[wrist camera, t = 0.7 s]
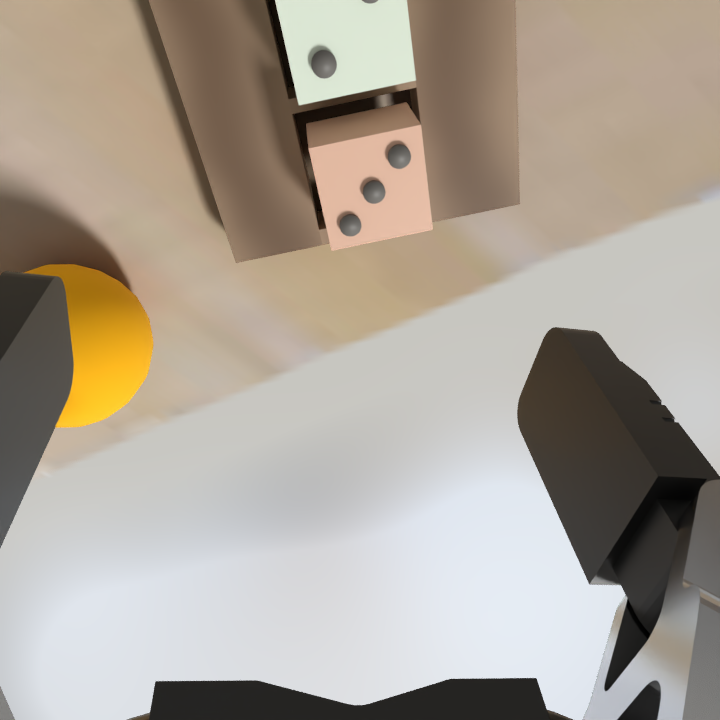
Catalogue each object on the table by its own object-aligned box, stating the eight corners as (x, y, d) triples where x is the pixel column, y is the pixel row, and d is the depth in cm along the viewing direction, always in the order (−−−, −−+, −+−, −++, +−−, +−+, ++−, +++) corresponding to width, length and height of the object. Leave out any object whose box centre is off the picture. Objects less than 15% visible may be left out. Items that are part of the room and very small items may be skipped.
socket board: (487, -366, 20) (506, -393, 18) (506, 187, 31) (519, 204, 30) (73, -271, 20) (52, -288, 19) (238, 243, 32) (236, 262, 30)
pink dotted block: (406, 102, 26) (422, 126, 23) (418, 198, 29) (433, 231, 26) (306, 123, 26) (308, 150, 23) (327, 218, 29) (331, 252, 26)
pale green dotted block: (385, -66, 23) (400, -63, 20) (401, 62, 25) (416, 81, 22) (269, -41, 23) (267, -34, 20) (297, 84, 25) (298, 106, 22)
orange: (25, 216, 30) (-41, 293, 24) (183, 278, 33) (160, 361, 27) (-7, 340, 34) (-71, 433, 28) (137, 386, 36) (108, 480, 30)
